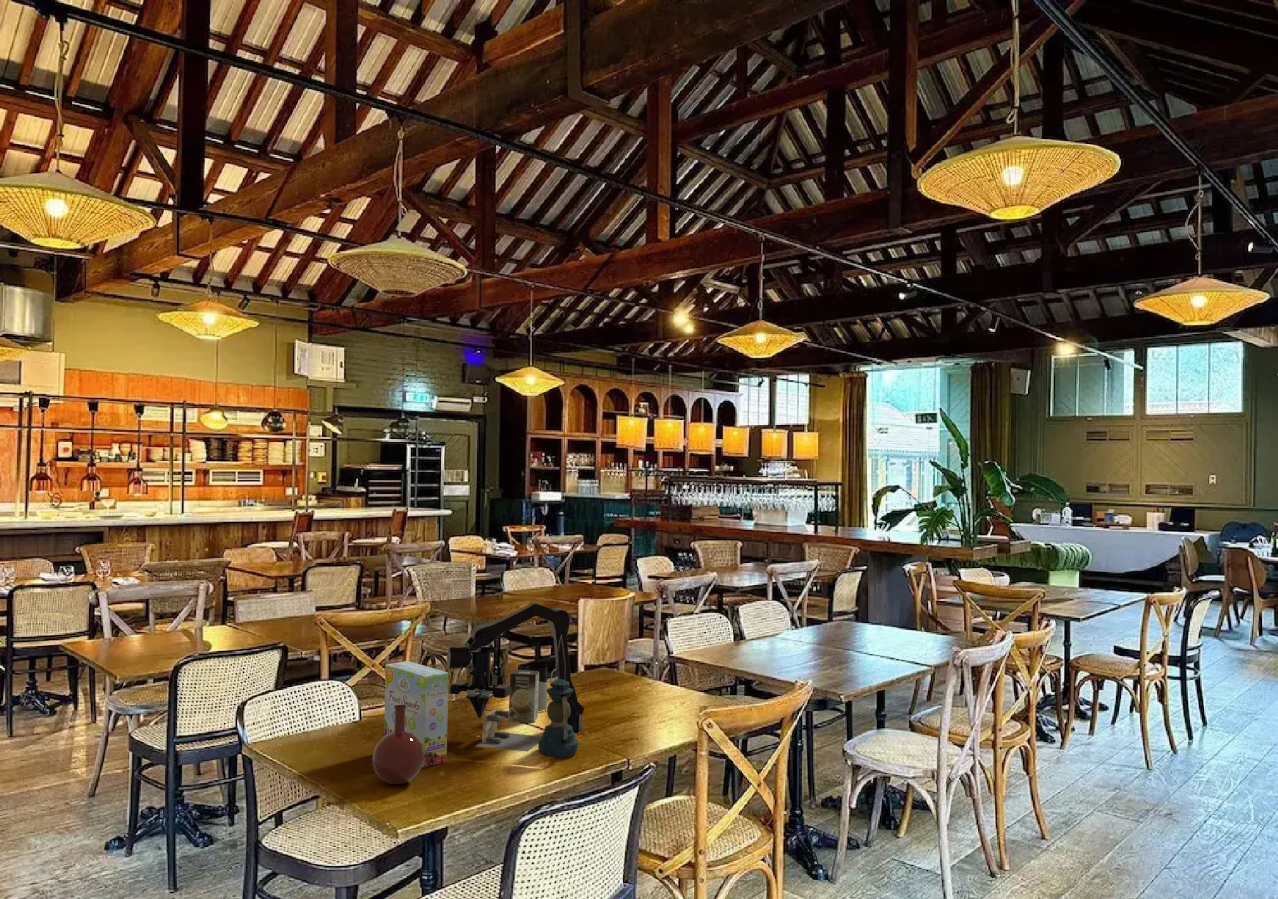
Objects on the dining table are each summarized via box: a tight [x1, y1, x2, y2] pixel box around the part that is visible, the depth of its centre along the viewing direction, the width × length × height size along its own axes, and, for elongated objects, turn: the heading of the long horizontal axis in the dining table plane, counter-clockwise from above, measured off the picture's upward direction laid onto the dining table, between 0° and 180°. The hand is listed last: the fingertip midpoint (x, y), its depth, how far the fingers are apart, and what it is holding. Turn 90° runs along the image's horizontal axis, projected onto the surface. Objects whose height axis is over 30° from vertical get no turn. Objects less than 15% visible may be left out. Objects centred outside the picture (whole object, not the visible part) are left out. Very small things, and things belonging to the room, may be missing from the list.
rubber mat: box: [475, 732, 543, 752], centre depth 269 cm, size 17×16×1 cm
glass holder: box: [525, 664, 557, 711], centre depth 311 cm, size 9×14×15 cm, turn 115°
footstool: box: [481, 709, 511, 744], centre depth 270 cm, size 6×8×8 cm
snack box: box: [383, 660, 450, 769], centre depth 253 cm, size 22×9×26 cm, turn 47°
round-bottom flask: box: [372, 705, 424, 785], centre depth 231 cm, size 13×13×20 cm
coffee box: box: [507, 669, 539, 723], centre depth 296 cm, size 9×6×16 cm
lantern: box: [537, 634, 579, 759], centre depth 260 cm, size 14×12×35 cm
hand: (479, 717), depth 272 cm, fingers closed
